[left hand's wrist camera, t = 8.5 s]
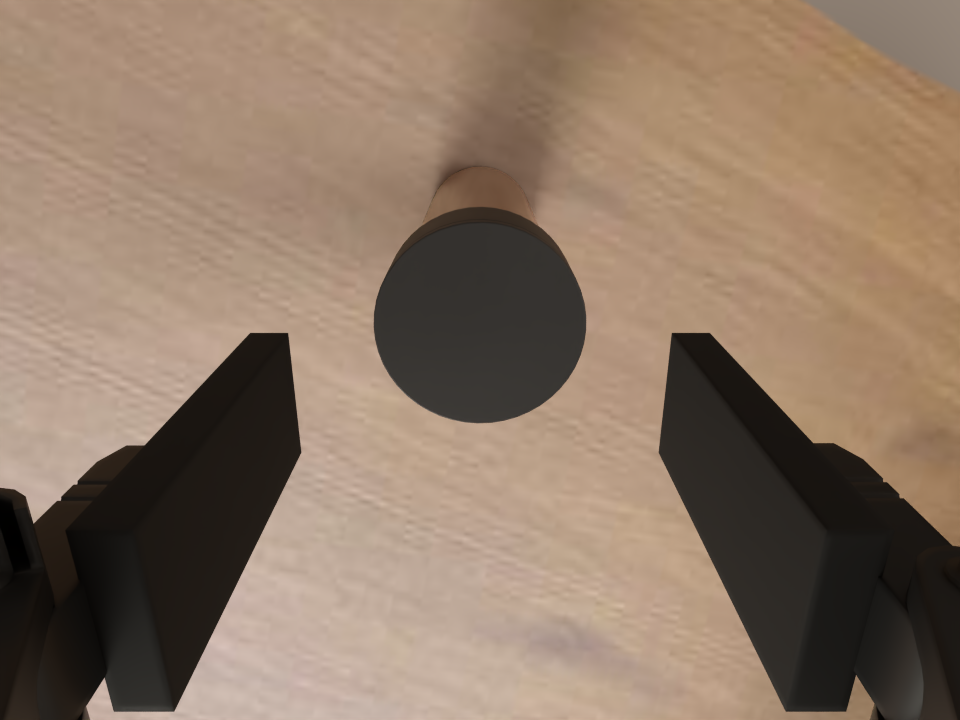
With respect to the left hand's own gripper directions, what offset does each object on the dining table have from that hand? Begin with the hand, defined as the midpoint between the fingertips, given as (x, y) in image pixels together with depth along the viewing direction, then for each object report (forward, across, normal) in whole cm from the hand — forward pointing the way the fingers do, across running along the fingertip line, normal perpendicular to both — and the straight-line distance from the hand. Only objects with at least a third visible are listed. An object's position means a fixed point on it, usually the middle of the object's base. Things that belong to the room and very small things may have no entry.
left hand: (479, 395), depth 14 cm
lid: (+5, 0, 0) cm, 5 cm away
